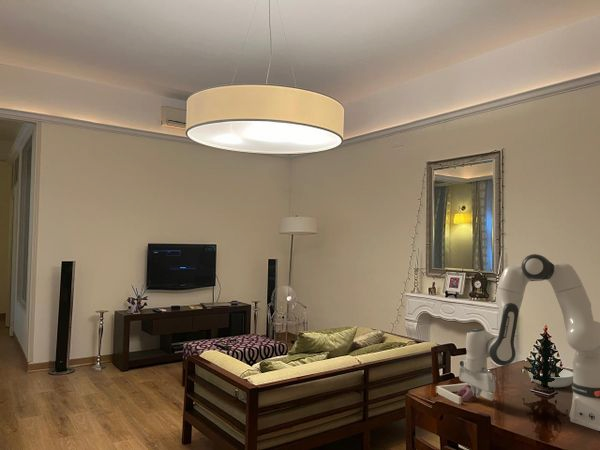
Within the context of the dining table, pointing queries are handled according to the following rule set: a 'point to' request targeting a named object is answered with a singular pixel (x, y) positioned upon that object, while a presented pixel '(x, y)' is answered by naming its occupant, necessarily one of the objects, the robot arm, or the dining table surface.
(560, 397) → the dining table surface
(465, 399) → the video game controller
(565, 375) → the serving bowl
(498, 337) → the robot arm
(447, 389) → the cream bay
